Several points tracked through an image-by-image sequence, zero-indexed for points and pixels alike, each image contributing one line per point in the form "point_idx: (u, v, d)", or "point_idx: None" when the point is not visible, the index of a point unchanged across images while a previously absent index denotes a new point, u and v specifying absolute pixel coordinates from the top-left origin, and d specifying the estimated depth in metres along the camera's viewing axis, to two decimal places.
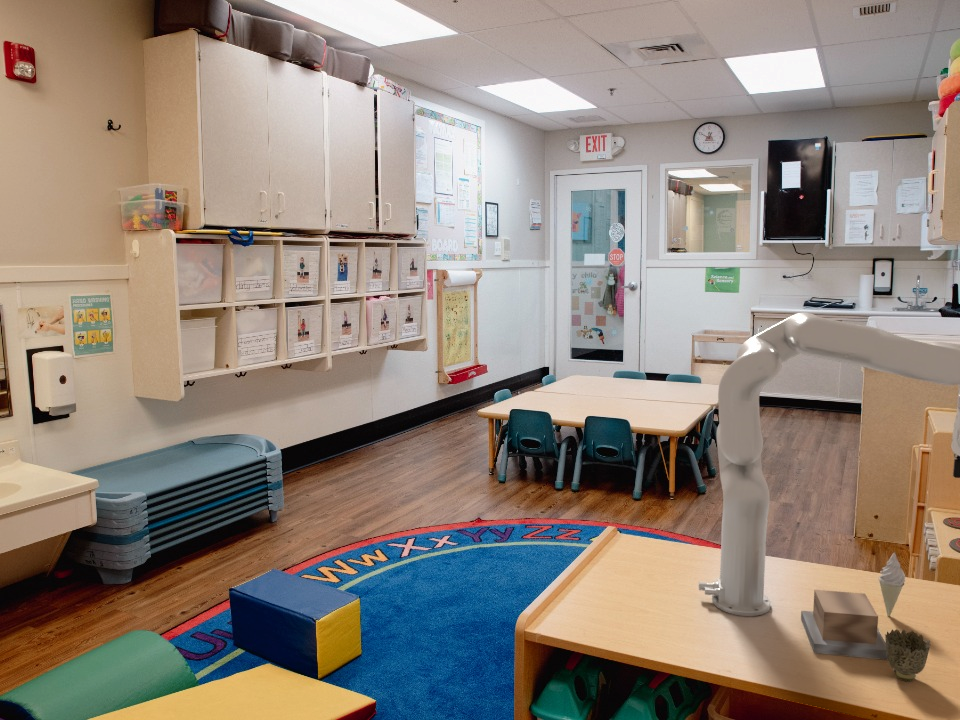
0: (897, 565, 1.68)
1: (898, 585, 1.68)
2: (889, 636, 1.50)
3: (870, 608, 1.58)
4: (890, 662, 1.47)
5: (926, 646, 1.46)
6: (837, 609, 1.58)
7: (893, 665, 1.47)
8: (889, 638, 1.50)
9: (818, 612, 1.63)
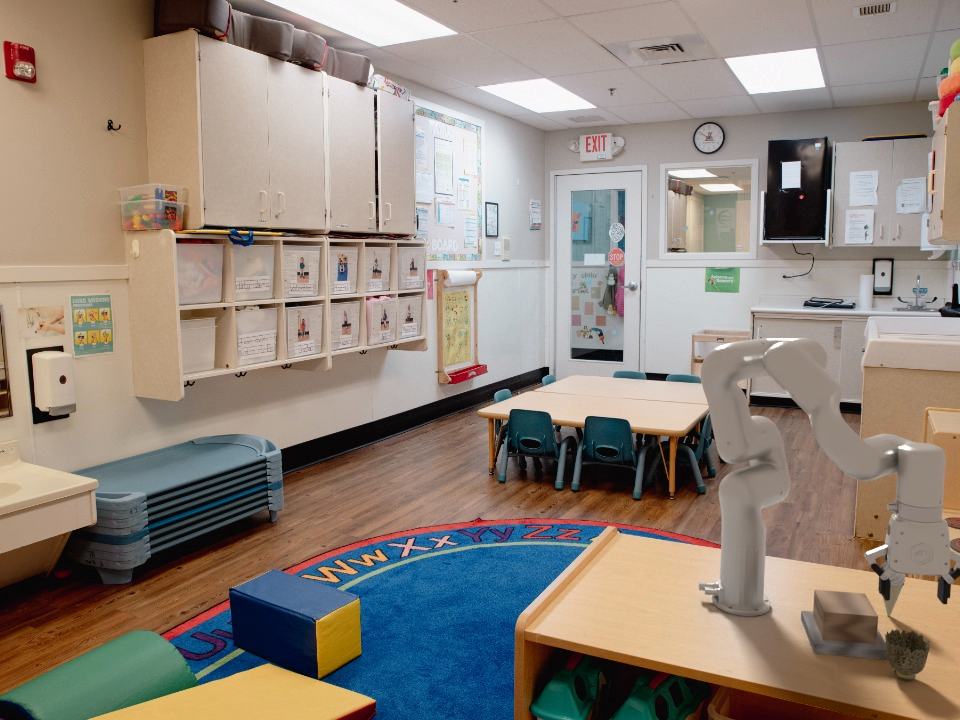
0: None
1: (898, 585, 1.68)
2: (889, 636, 1.50)
3: (870, 608, 1.58)
4: (890, 662, 1.47)
5: (926, 646, 1.46)
6: (837, 609, 1.58)
7: (893, 665, 1.47)
8: (889, 638, 1.50)
9: (818, 612, 1.63)
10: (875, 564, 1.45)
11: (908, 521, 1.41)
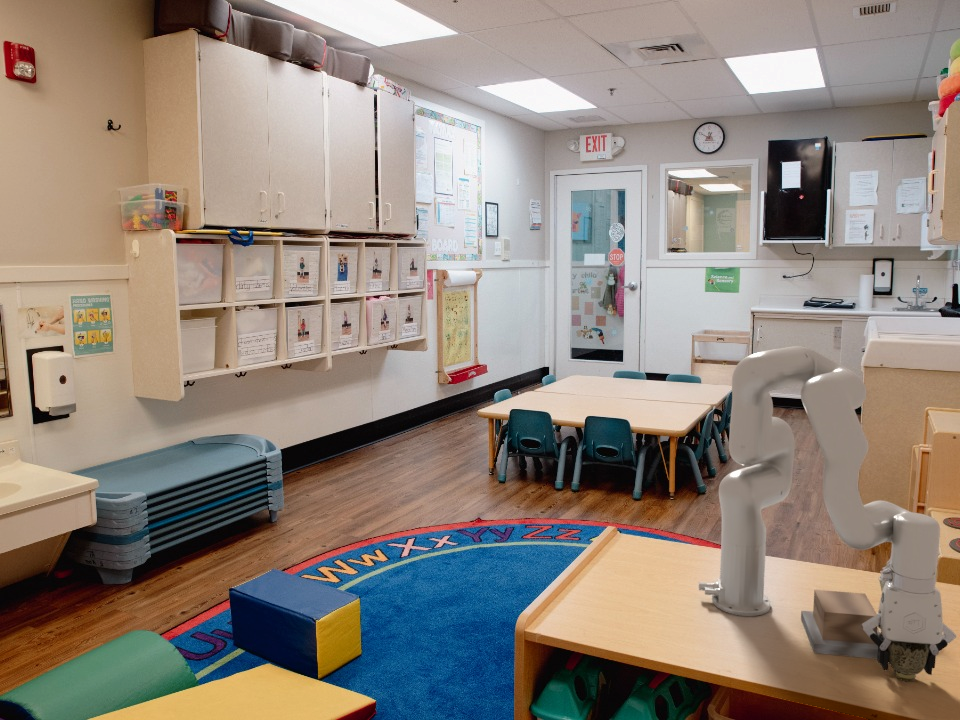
0: None
1: None
2: None
3: (870, 608, 1.58)
4: (890, 662, 1.47)
5: (926, 646, 1.46)
6: (837, 609, 1.58)
7: (893, 665, 1.47)
8: None
9: (818, 612, 1.63)
10: (874, 634, 1.47)
11: (902, 591, 1.43)
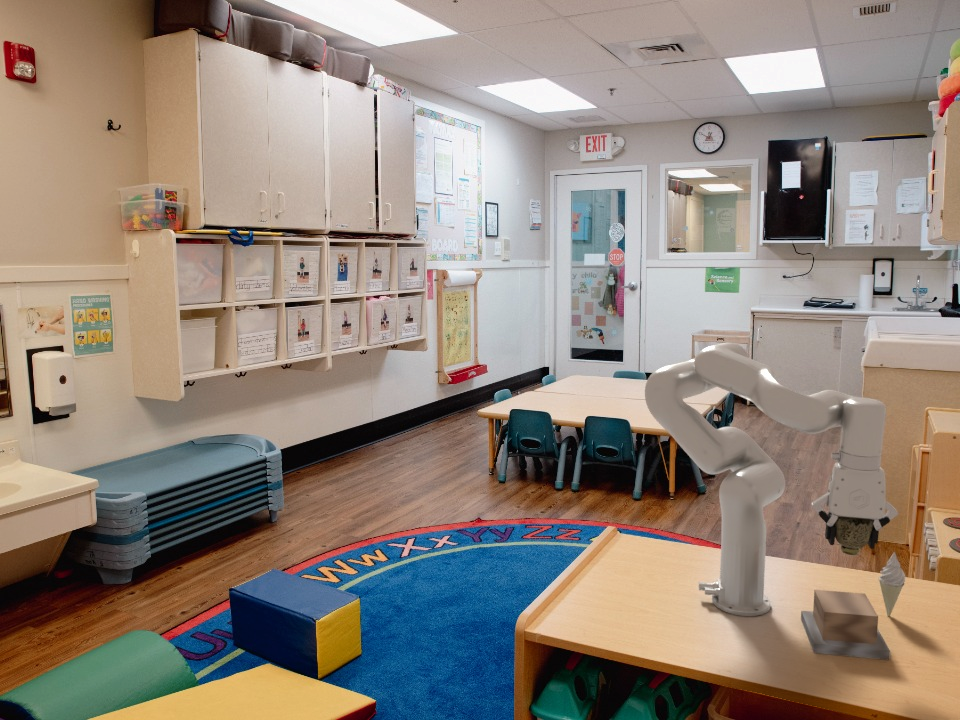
0: (897, 565, 1.68)
1: (898, 585, 1.68)
2: None
3: (870, 608, 1.58)
4: (837, 537, 1.57)
5: (871, 523, 1.57)
6: (837, 609, 1.58)
7: (839, 540, 1.57)
8: None
9: (818, 612, 1.63)
10: (823, 511, 1.58)
11: (848, 469, 1.53)
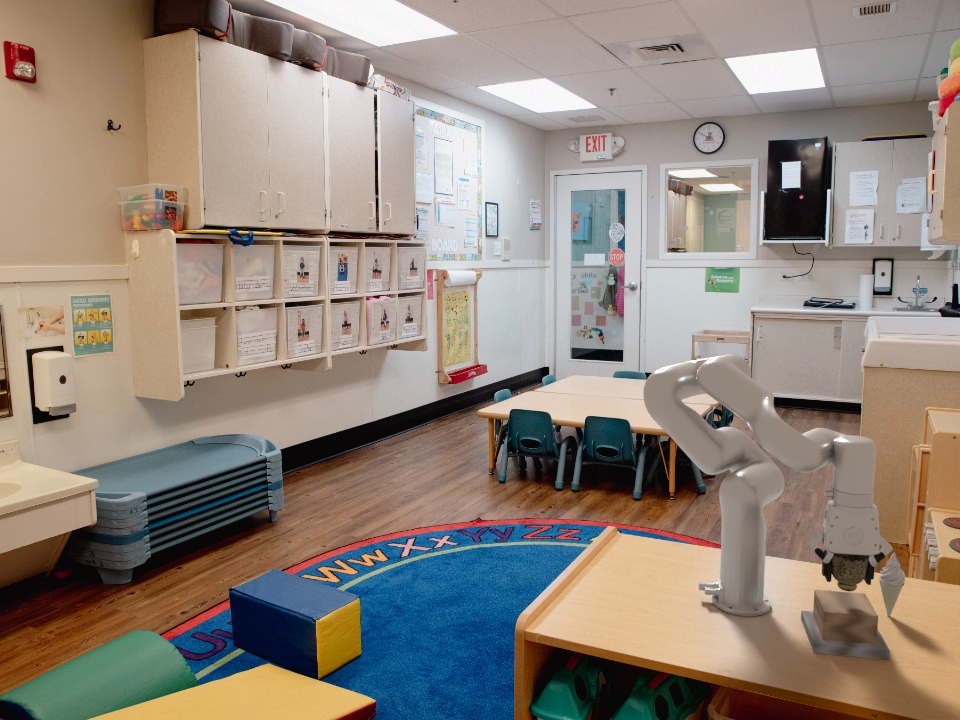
0: (897, 565, 1.68)
1: (898, 585, 1.68)
2: None
3: (870, 608, 1.58)
4: (833, 574, 1.59)
5: (866, 559, 1.59)
6: (837, 609, 1.58)
7: (836, 576, 1.59)
8: None
9: (818, 612, 1.63)
10: (818, 549, 1.60)
11: (842, 506, 1.55)
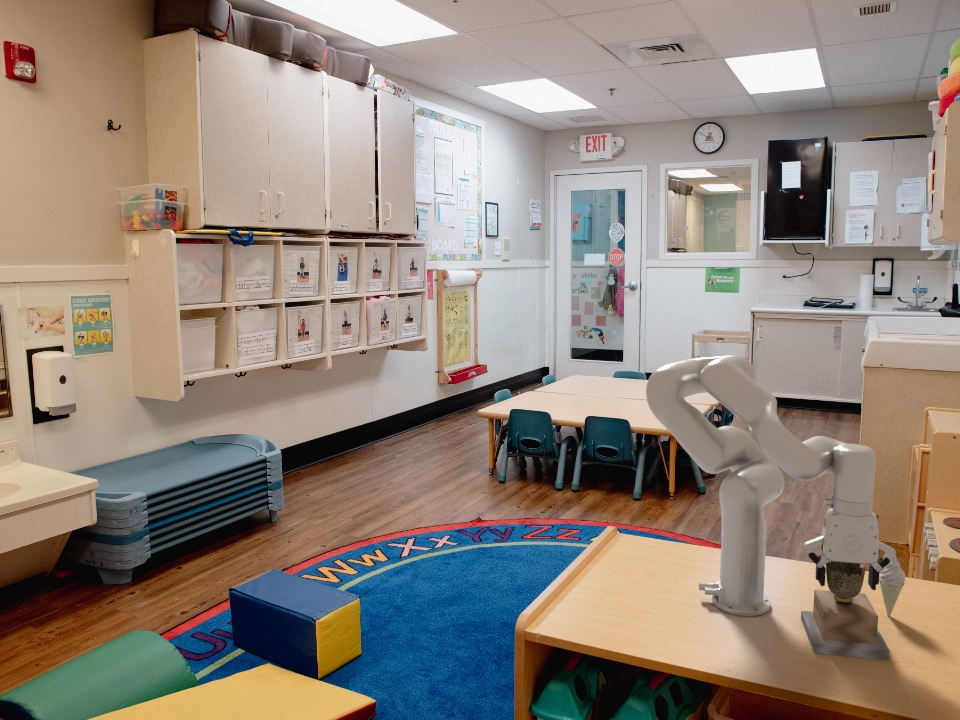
0: (897, 565, 1.68)
1: (898, 585, 1.68)
2: (829, 565, 1.63)
3: (870, 608, 1.58)
4: (830, 587, 1.60)
5: (862, 572, 1.60)
6: (837, 609, 1.58)
7: (832, 590, 1.60)
8: (829, 566, 1.63)
9: (818, 612, 1.63)
10: (812, 553, 1.60)
11: (841, 515, 1.56)
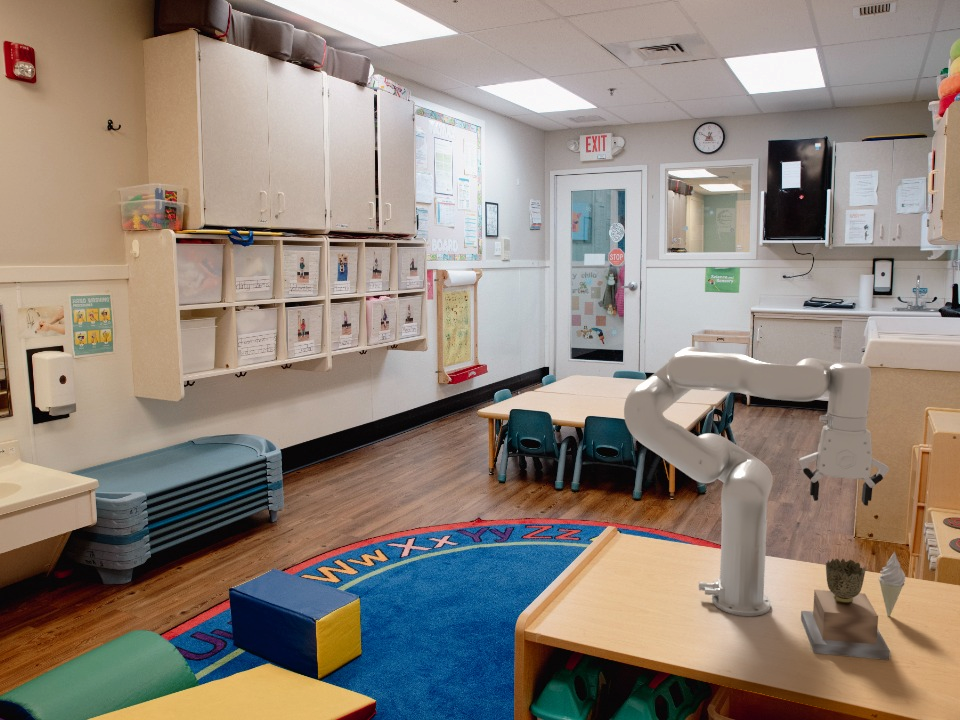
0: (897, 565, 1.68)
1: (898, 585, 1.68)
2: (829, 565, 1.63)
3: (870, 608, 1.58)
4: (830, 587, 1.60)
5: (862, 572, 1.60)
6: (837, 609, 1.58)
7: (832, 590, 1.60)
8: (829, 566, 1.63)
9: (818, 612, 1.63)
10: (807, 468, 1.65)
11: (835, 430, 1.60)
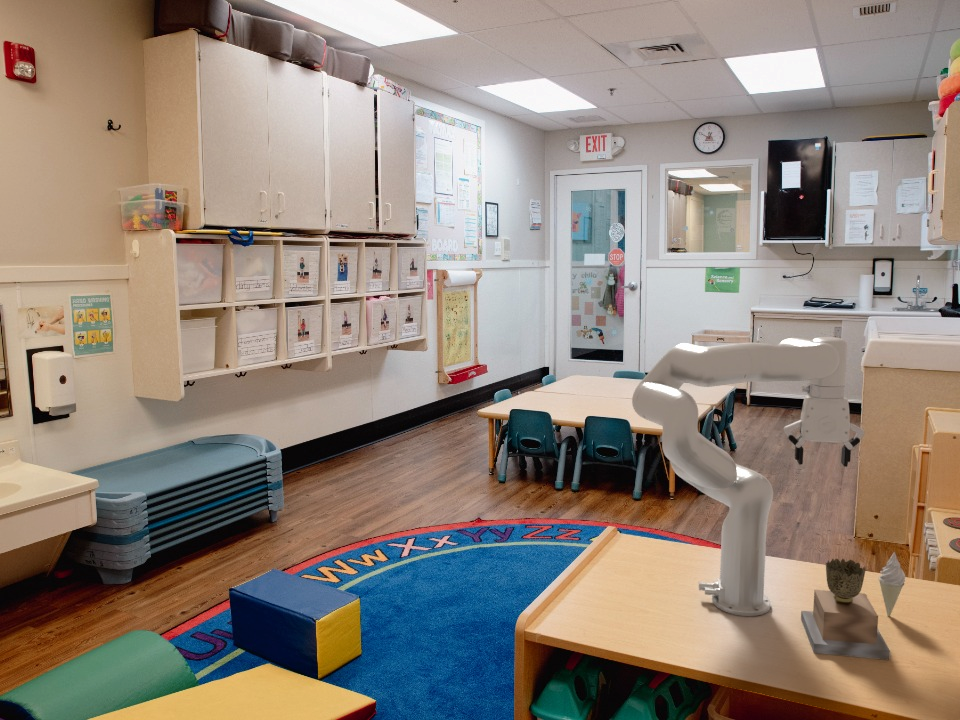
0: (897, 565, 1.68)
1: (898, 585, 1.68)
2: (829, 565, 1.63)
3: (870, 608, 1.58)
4: (830, 587, 1.60)
5: (862, 572, 1.60)
6: (837, 609, 1.58)
7: (832, 590, 1.60)
8: (829, 566, 1.63)
9: (818, 612, 1.63)
10: (791, 435, 1.80)
11: (816, 398, 1.76)
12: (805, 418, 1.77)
